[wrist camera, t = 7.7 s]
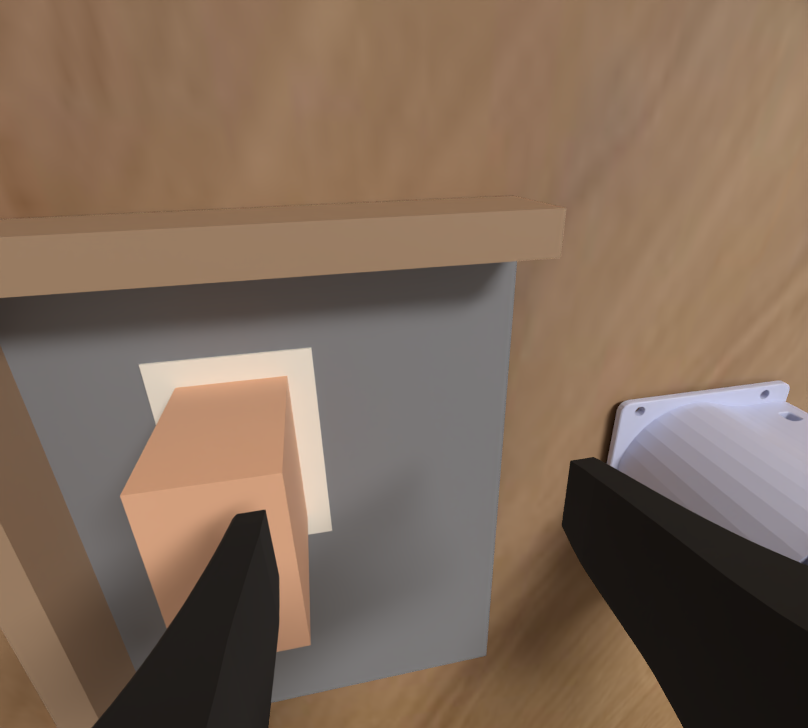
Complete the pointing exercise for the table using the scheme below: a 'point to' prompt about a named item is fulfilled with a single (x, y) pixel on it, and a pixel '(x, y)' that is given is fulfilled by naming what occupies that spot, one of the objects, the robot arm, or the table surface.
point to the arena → (312, 412)
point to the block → (222, 492)
